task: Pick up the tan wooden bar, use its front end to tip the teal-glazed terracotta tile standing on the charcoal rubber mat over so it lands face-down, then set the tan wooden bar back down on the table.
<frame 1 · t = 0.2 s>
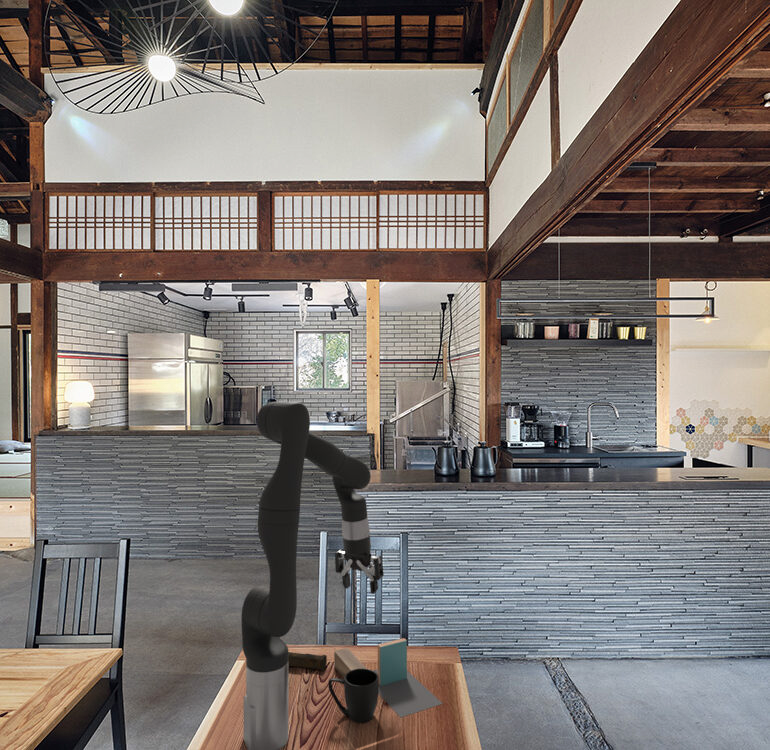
hand: (360, 589, 150), 22 cm above the table, tool pointing down, fingers open, 8 cm apart
hand tool: (292, 668, 151), on the table
tile: (392, 680, 143), resting on rubber mat
tan wooden bar: (353, 682, 143), on the table
rubber mat: (399, 689, 139), on the table
mug: (353, 717, 128), on the table
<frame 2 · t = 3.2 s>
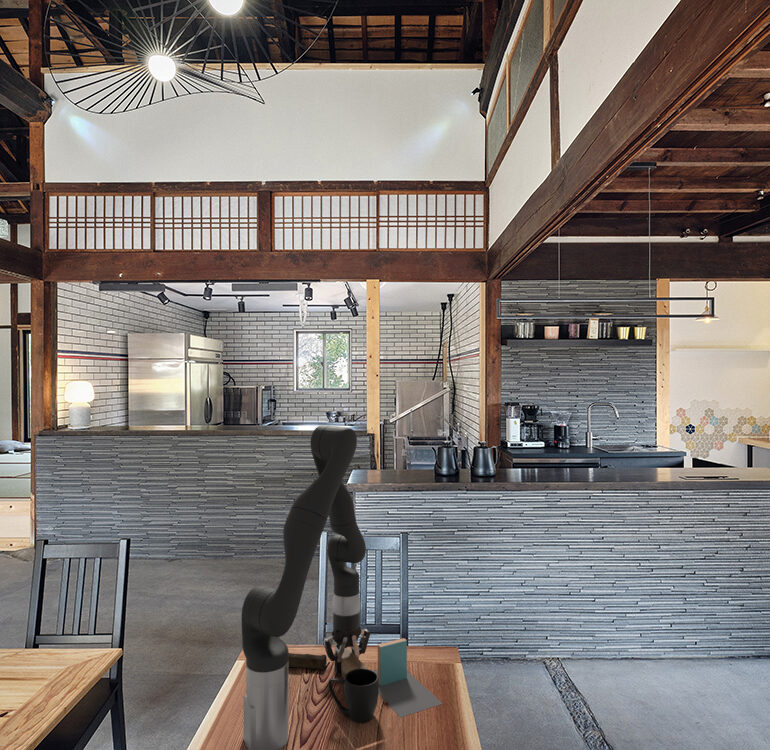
hand: (346, 671, 148), 0 cm above the table, tool pointing down, fingers closed on tan wooden bar, 4 cm apart
tan wooden bar: (353, 681, 143), on the table, touching gripper
everything else where it was.
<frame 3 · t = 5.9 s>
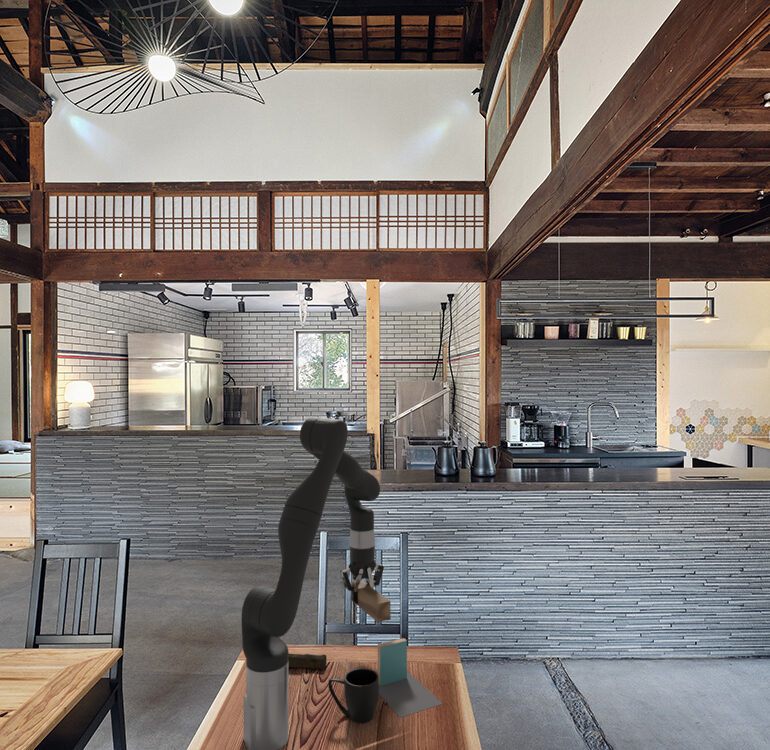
hand: (362, 601, 160), 15 cm above the table, tool pointing down, fingers closed on tan wooden bar, 4 cm apart
tan wooden bar: (369, 609, 156), point 14 cm above the table, touching gripper
everything else where it was.
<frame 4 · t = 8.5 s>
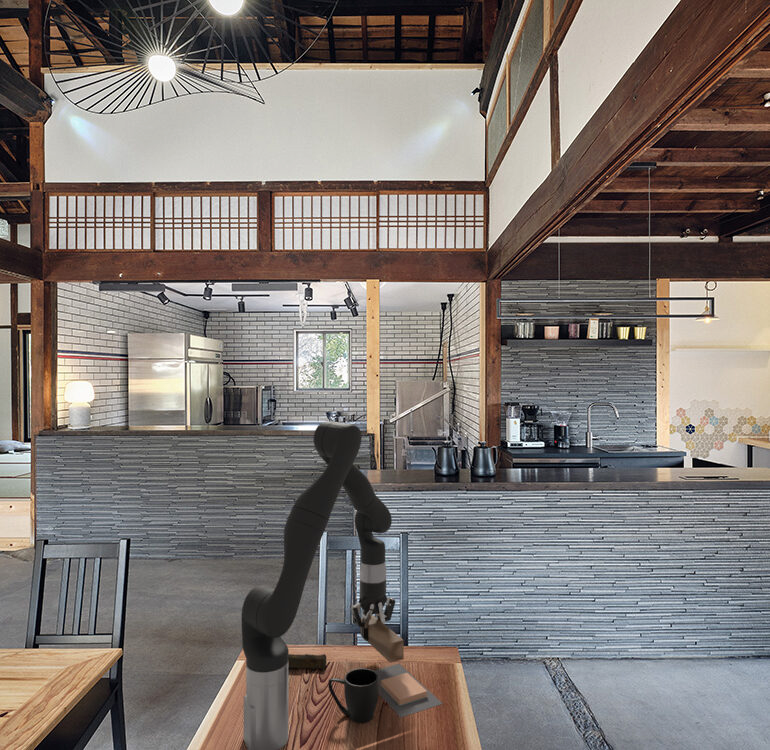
hand: (373, 637, 153), 7 cm above the table, tool pointing down, fingers closed on tan wooden bar, 4 cm apart
tile: (394, 679, 142), point 1 cm above the table, tilted 90°, touching rubber mat
tan wooden bar: (381, 646, 149), point 7 cm above the table, touching gripper
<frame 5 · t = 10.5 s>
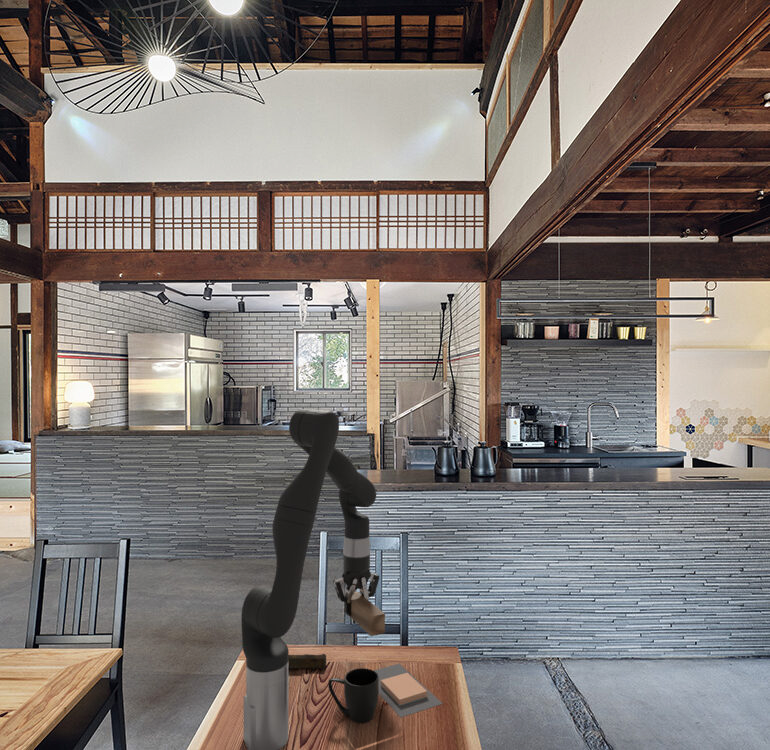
hand: (356, 613, 152), 15 cm above the table, tool pointing down, fingers closed on tan wooden bar, 4 cm apart
tan wooden bar: (363, 621, 147), point 14 cm above the table, touching gripper
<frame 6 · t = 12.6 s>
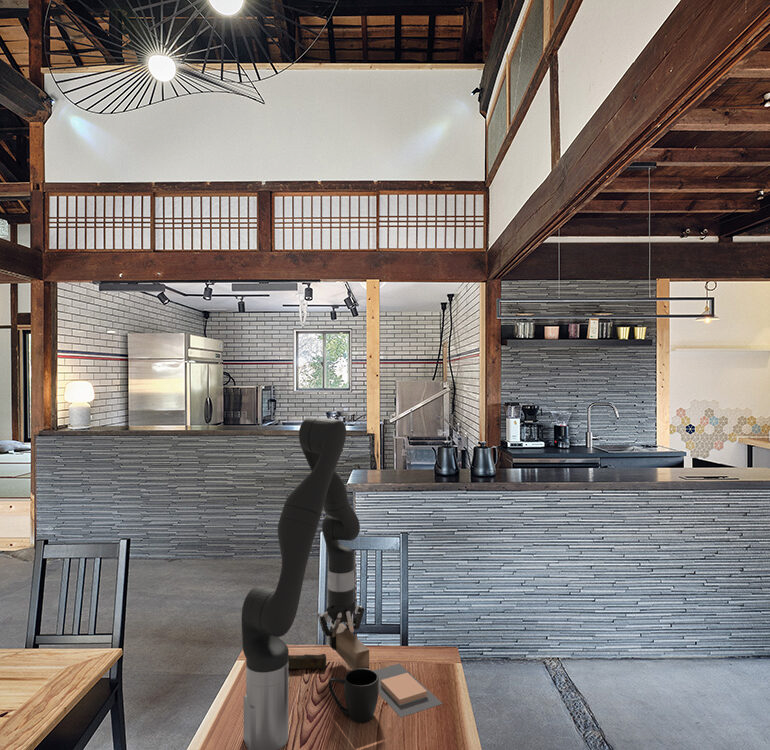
hand: (341, 646, 151), 5 cm above the table, tool pointing down, fingers closed on tan wooden bar, 4 cm apart
tan wooden bar: (348, 655, 147), point 5 cm above the table, touching gripper
when the fingers open (2 cm above the table, at t = 13.7 s): tan wooden bar drops 2 cm, on the table.
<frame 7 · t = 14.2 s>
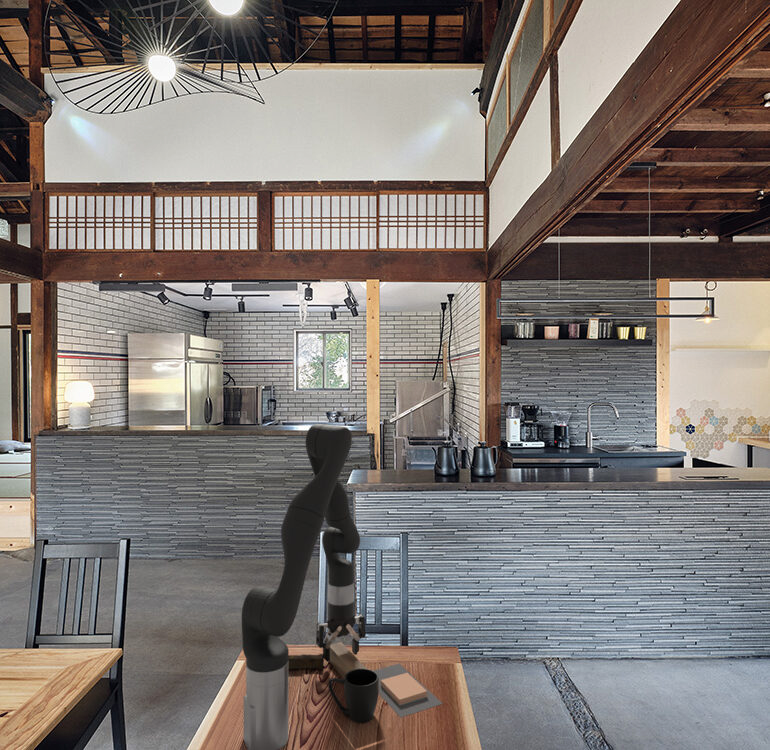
hand: (341, 656, 151), 3 cm above the table, tool pointing down, fingers open, 8 cm apart
tan wooden bar: (347, 675, 147), on the table
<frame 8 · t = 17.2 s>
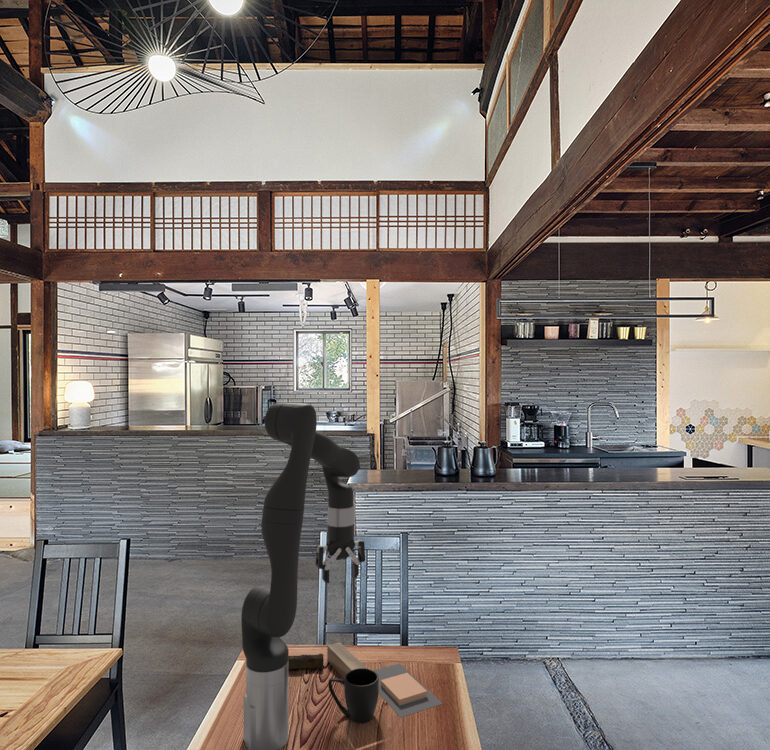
hand: (340, 580, 152), 24 cm above the table, tool pointing down, fingers open, 8 cm apart
at the end: tile tilted 90°; tile inside the target area (3.0 cm from its centre), point 1.2 cm above the table; tan wooden bar on the table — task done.
